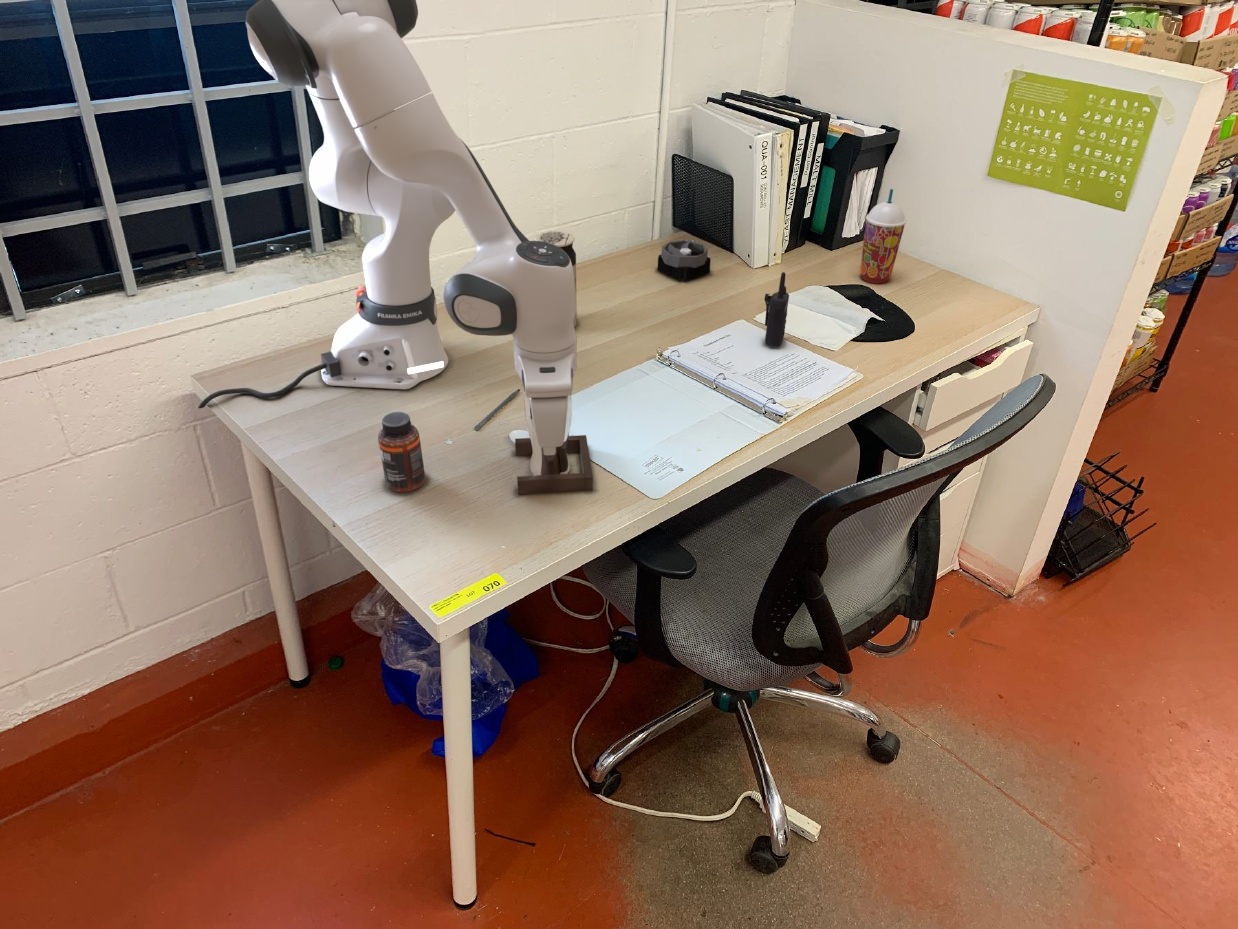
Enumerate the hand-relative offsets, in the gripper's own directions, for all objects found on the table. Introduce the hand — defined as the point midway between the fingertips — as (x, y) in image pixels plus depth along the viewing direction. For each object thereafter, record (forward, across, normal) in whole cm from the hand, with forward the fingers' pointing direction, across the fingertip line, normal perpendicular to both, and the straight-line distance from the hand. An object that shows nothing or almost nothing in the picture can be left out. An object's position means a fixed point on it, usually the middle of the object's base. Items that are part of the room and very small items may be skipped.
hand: (548, 438), depth 137 cm
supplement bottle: (+6, +1, -22) cm, 22 cm away
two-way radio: (+6, -39, +45) cm, 60 cm away
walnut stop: (+6, 0, 0) cm, 6 cm away
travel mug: (+6, -50, +4) cm, 51 cm away
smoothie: (+6, -67, +76) cm, 102 cm away
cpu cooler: (+6, -74, +34) cm, 82 cm away
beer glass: (+6, 0, 0) cm, 6 cm away
